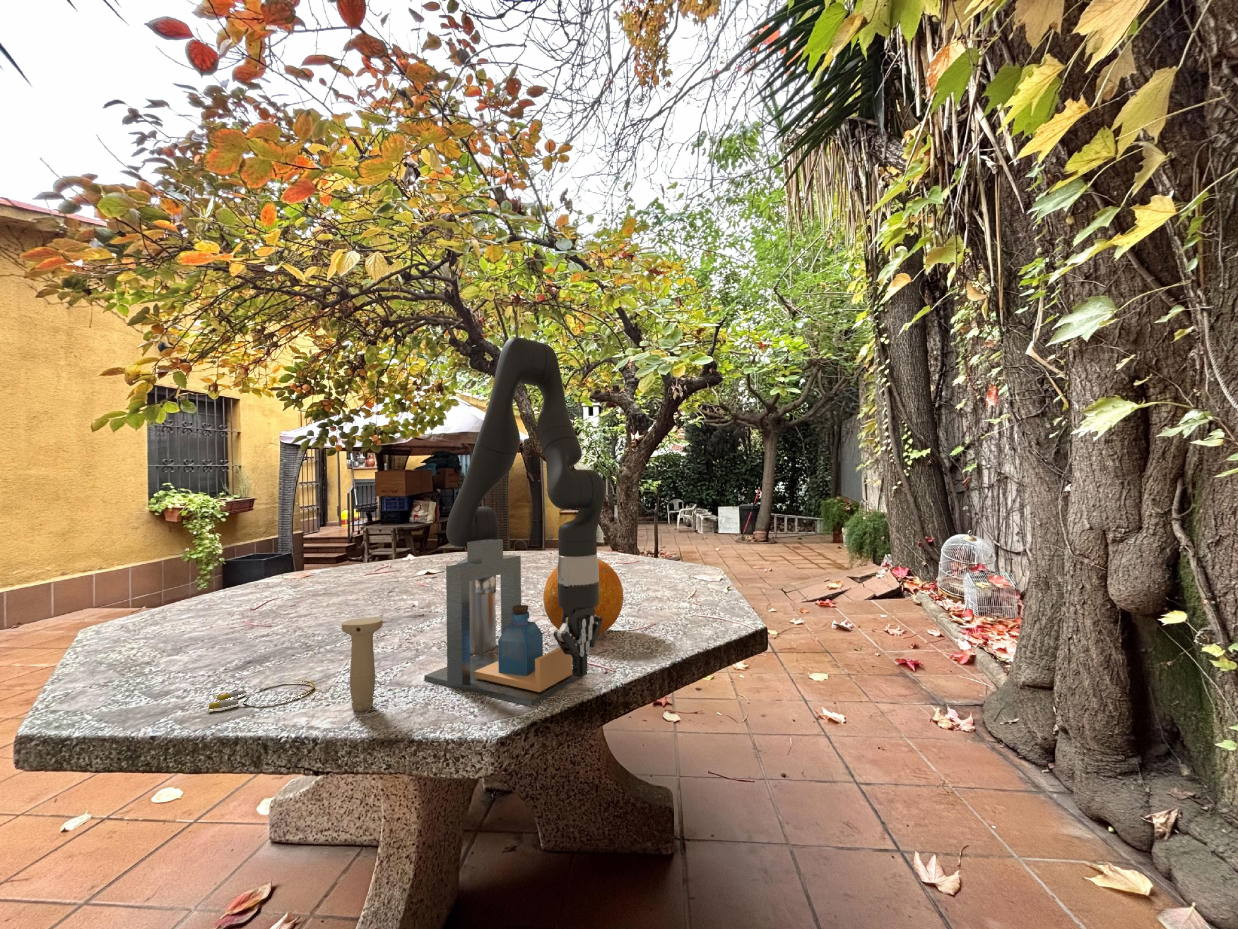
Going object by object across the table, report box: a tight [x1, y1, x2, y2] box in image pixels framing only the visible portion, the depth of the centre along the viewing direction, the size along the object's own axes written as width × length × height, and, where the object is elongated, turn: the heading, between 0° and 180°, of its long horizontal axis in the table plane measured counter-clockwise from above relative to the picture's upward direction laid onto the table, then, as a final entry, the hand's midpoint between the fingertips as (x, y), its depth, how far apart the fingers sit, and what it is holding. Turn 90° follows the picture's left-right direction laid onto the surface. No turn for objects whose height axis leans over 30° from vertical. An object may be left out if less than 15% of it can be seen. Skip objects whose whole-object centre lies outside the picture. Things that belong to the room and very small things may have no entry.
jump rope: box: [208, 679, 316, 710], centre depth 99 cm, size 12×16×2 cm
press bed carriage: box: [474, 646, 573, 692], centre depth 103 cm, size 16×10×6 cm, turn 60°
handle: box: [341, 617, 383, 712], centre depth 93 cm, size 5×6×15 cm
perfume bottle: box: [497, 604, 544, 676], centre depth 103 cm, size 6×6×12 cm
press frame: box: [423, 539, 582, 707], centre depth 106 cm, size 27×17×27 cm, turn 60°
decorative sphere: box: [542, 558, 624, 636], centre depth 133 cm, size 20×20×20 cm
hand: (580, 675), depth 96 cm, fingers closed
